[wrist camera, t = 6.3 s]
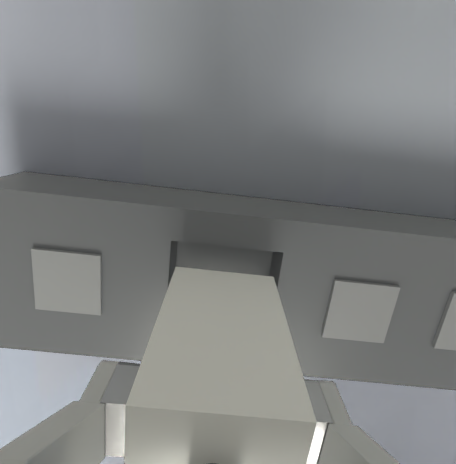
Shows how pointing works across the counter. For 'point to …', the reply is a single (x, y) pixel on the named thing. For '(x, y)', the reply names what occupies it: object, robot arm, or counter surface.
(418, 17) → the counter surface
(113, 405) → the robot arm
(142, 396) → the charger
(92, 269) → the power strip
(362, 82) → the counter surface
